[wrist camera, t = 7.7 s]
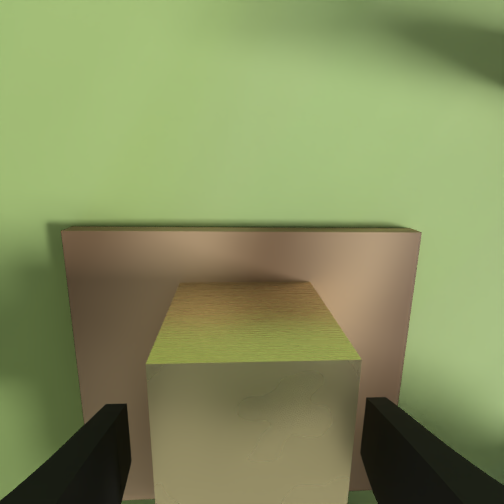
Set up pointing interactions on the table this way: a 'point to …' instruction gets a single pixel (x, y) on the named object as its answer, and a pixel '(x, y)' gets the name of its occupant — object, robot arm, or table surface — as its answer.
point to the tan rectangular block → (251, 397)
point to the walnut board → (229, 270)
